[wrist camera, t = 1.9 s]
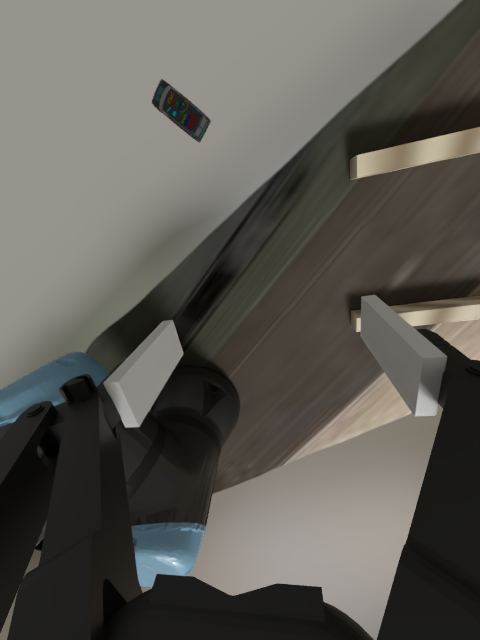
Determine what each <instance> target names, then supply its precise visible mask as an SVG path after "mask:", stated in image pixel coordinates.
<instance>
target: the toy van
mask: <svg viewBox="0 0 480 640" xmlns="http://www.w3.org/2000/svg"><path fill="white" fill-rule="evenodd" d="M152 104H153V105H154V107H155V108H157V109H158V110H159V111H160V112H161V113H163V114H164V115H165V116H166V117H167V118H169V119H170V120H171V121H172V122H173V123H175V124H176V125H177V126H178V127H179V128H181V129H182V130H183V131H184V132H186V133H187V134H188V135H189V136H191V137H192V138H193V139H195V140H196V141H198V142H199V141H200V142H201V140H202V138H203V136H204V134H205V132H206V130H207V128H208V126H209V124H210V122H211V120H210V119H209V118H208V117H207V116H206V115H205V114H204V113H203V112H202V111H201V110H200V109H199V108H197V107H196V106H195V105H194V104H193V103H192V102H191V101H189V100H188V99H187V98H186V97H184V96H183V95H182V94H181V93H180V92H178V91H177V90H176V89H175V88H174V87H172V86H171V85H170V84H169V83H167V82H166V81H164V80H163V79H161V80H160V82H159V84H158V86H157V89H156V91H155V93H154V96H153V99H152ZM200 142H199V143H200Z"/></svg>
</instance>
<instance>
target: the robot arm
mask: <svg viewBox="0 0 480 640" xmlns="http://www.w3.org/2000/svg"><path fill="white" fill-rule="evenodd" d="M361 338H362V340H363V341H364V342H365V344H366V345H367V347H368V348H369V350H370V351H371V353H372V354H373V356H374V357H375V359H376V360H377V362H378V363H379V364H380V366H381V367H382V369H383V370H384V372H385V373H386V375H387V376H388V378H389V379H390V381H391V382H392V384H393V385H394V386H395V388H396V389H397V391H398V392H399V394H400V395H401V397H402V398H403V400H404V401H405V403H406V404H407V406H408V407H409V408H410V410H411V411H412V413H413V414H414V416H436V415H437V410H438V404H440V406H441V407H442V408H443V412H442V416H441V419H440V423H439V426H438V430H437V434H436V437H435V441H434V444H433V448H432V451H431V455H430V459H429V462H428V466H427V469H426V473H425V477H424V480H423V484H422V487H421V491H420V495H419V499H418V502H417V505H416V510H415V513H414V517H413V520H412V524H411V527H410V531H409V534H408V538H407V541H406V544H405V545H404V547H403V550H402V553H401V557H400V560H399V564H398V567H397V570H396V574H395V577H394V581H393V584H392V588H391V592H390V596H389V599H388V603H387V606H386V609H385V613H384V616H383V620H382V623H381V627H380V631H379V634H378V638H377V640H480V361H478V360H470V359H469V358H468V357H466V356H465V355H464V354H462V353H461V352H460V351H459V350H457V349H456V348H455V347H453V346H452V345H450V344H449V343H448V342H447V341H446V340H444V339H443V338H442V337H440V336H439V335H438V334H436V333H434V332H432V331H429V330H427V329H417V330H416V329H415V328H413V327H412V326H411V325H410V324H409V323H407V322H406V321H405V320H404V319H403V318H402V317H400V316H399V315H398V314H397V313H396V312H395V311H393V310H392V309H391V308H390V307H389V306H388V305H386V304H385V303H384V302H383V301H382V300H381V299H379V298H378V297H377V296H376V295H369V296H361ZM183 354H184V353H183V350H182V347H181V344H180V341H179V338H178V335H177V331H176V328H175V325H174V322H173V320H168V321H162V322H161V323H160V324H159V325H158V327H157V328H156V329H155V330H154V331H153V332H152V333H151V334H150V335H149V336H148V337H147V338H146V339H145V340H144V341H143V342H142V343H141V344H140V345H139V346H138V347H137V348H136V349H135V350H134V352H133V353H132V354H131V355H130V356H129V357H128V358H127V359H125V360H124V361H122V362H121V363H119V364H118V365H117V366H116V367H115V368H114V370H112V371H111V372H108V371H107V370H106V369H105V368H104V367H102V366H101V365H100V364H99V363H98V362H97V361H96V360H94V359H93V358H92V357H91V356H89V355H88V354H86V353H82V352H71V353H68V354H65V355H63V356H61V357H59V358H57V359H55V360H53V361H51V362H50V363H48V364H46V365H44V366H42V367H40V368H39V369H37V370H35V371H33V372H31V373H30V374H28V375H26V376H24V377H22V378H21V379H19V380H17V381H15V382H14V383H12V384H10V385H8V386H7V387H5V388H3V389H1V390H0V632H1V630H2V628H3V625H4V623H5V620H6V618H7V615H8V613H9V610H10V608H11V606H12V603H13V601H14V598H15V596H16V593H17V591H18V593H17V598H16V602H15V607H14V611H13V616H12V621H11V625H10V629H9V634H8V638H7V640H373V638H372V637H371V636H370V635H369V634H368V633H367V632H366V631H365V630H364V629H363V628H362V627H361V626H360V625H359V624H358V623H356V622H355V621H354V620H353V619H351V618H350V617H349V616H348V615H346V614H345V613H343V612H342V611H340V610H339V609H337V608H336V607H334V606H332V605H330V604H327V603H325V602H323V596H322V589H321V587H312V586H300V585H288V584H274V585H270V586H267V587H264V588H260V589H257V590H253V591H250V592H246V593H243V594H239V595H236V596H231V595H228V594H226V593H224V592H222V591H220V590H218V589H216V588H214V587H212V586H210V585H208V584H206V583H205V582H202V581H201V580H199V579H197V578H195V577H190V576H187V575H188V574H189V573H190V572H191V571H192V569H193V567H194V565H195V563H196V560H197V556H198V552H199V548H200V545H201V541H202V537H203V534H204V533H205V529H206V523H207V518H208V513H209V508H210V502H211V497H212V492H213V487H214V482H215V477H216V472H217V467H218V461H219V456H220V452H221V448H222V447H223V445H224V444H225V442H226V440H227V439H228V437H229V435H230V434H231V432H232V430H233V429H234V427H235V426H236V423H237V421H238V416H239V410H240V400H239V397H238V394H237V392H236V390H235V389H234V387H233V386H232V385H231V383H230V382H229V381H228V380H226V379H225V378H224V377H222V376H221V375H219V374H218V373H216V372H214V371H211V370H208V369H205V368H201V367H182V368H178V369H175V367H176V365H177V364H178V362H179V360H180V359H181V357H182V356H183ZM174 369H175V370H174ZM150 409H151V410H150ZM149 410H150V412H149ZM43 538H44V540H43V546H42V551H41V557H40V562H39V565H38V567H37V568H35V569H33V570H32V571H30V572H28V573H27V574H26V575H25V577H24V578H23V576H24V574H25V571H26V569H27V566H28V564H29V561H30V559H31V557H32V554H33V552H34V549H35V547H36V545H37V544H38V543H39V542H40V541H41V540H42V539H43ZM20 583H21V584H20ZM19 586H20V587H19ZM140 586H153V587H152V589H150V590H148V591H146V592H144V593H142V590H141V587H140ZM18 588H19V590H18Z"/></svg>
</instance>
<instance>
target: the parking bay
mask: <svg viewBox="0 0 480 640" xmlns="http://www.w3.org/2000/svg"><path fill="white" fill-rule="evenodd" d="M475 153H480V127H477V128H473V129H469V130H464V131H460V132H455V133H451V134H447V135H442V136H438V137H434V138H429V139H425V140H421V141H416V142H412V143H408V144H403V145H399V146H395V147H390V148H386V149H382V150H377V151H373V152H369V153H364V154H360V155H357V156H355V157H353V158H352V159H350V180H353V179H358V178H363V177H367V176H372V175H377V174H382V173H386V172H391V171H396V170H400V169H405V168H410V167H414V166H419V165H424V164H428V163H433V162H438V161H442V160H447V159H452V158H456V157H461V156H466V155H470V154H475ZM389 307H390V308H391V309H392V310H393V311H395V312H396V313H397V314H398V315H399V316H400V317H402V318H403V319H404V320H405V321H406V322H407V323H409V324H410V325H411V326H419V325H428V324H438V323H448V322H457V321H467V320H477V319H480V295H479V296H471V297H462V298H454V299H446V300H437V301H429V302H420V303H412V304H404V305H395V306H389ZM351 324H352V326H353V327H354V329H355V330H356V332H361V310H353V311H351Z"/></svg>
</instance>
